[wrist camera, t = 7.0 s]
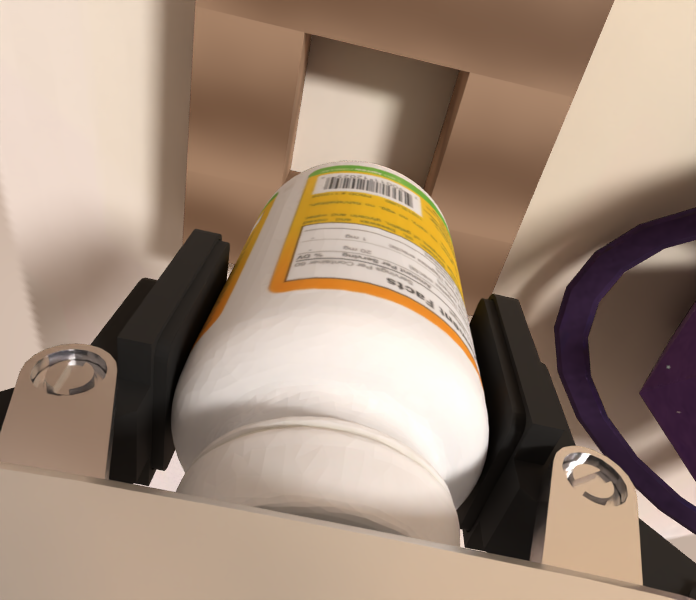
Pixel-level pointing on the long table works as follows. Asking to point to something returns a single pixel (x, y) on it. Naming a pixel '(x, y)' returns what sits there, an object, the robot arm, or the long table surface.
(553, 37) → the socket block
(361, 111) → the long table surface
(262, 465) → the supplement bottle
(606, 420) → the purple looped device
